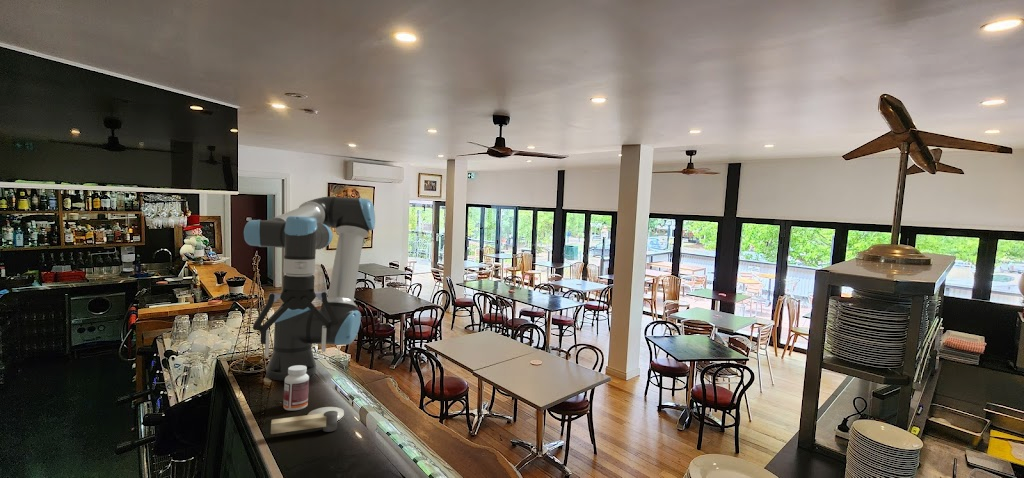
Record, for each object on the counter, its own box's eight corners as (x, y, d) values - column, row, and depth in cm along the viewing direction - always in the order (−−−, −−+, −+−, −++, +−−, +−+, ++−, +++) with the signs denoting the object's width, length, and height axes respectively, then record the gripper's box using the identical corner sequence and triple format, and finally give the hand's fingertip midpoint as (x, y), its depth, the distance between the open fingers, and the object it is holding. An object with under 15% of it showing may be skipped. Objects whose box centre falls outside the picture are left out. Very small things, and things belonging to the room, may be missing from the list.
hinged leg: (336, 425, 110) (337, 410, 110) (337, 430, 107) (338, 415, 107) (270, 434, 103) (271, 418, 103) (270, 440, 100) (271, 423, 100)
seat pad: (305, 413, 116) (305, 409, 116) (340, 408, 121) (341, 404, 121) (308, 427, 108) (309, 423, 108) (346, 421, 113) (346, 417, 113)
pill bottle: (311, 403, 123) (313, 364, 123) (301, 412, 117) (304, 371, 117) (289, 402, 123) (291, 363, 123) (278, 410, 117) (280, 370, 117)
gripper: (243, 277, 105) (240, 362, 106) (351, 275, 118) (347, 352, 119) (244, 272, 111) (241, 353, 112) (346, 272, 124) (342, 344, 125)
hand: (295, 353), depth 115 cm, fingers open, 13 cm apart
